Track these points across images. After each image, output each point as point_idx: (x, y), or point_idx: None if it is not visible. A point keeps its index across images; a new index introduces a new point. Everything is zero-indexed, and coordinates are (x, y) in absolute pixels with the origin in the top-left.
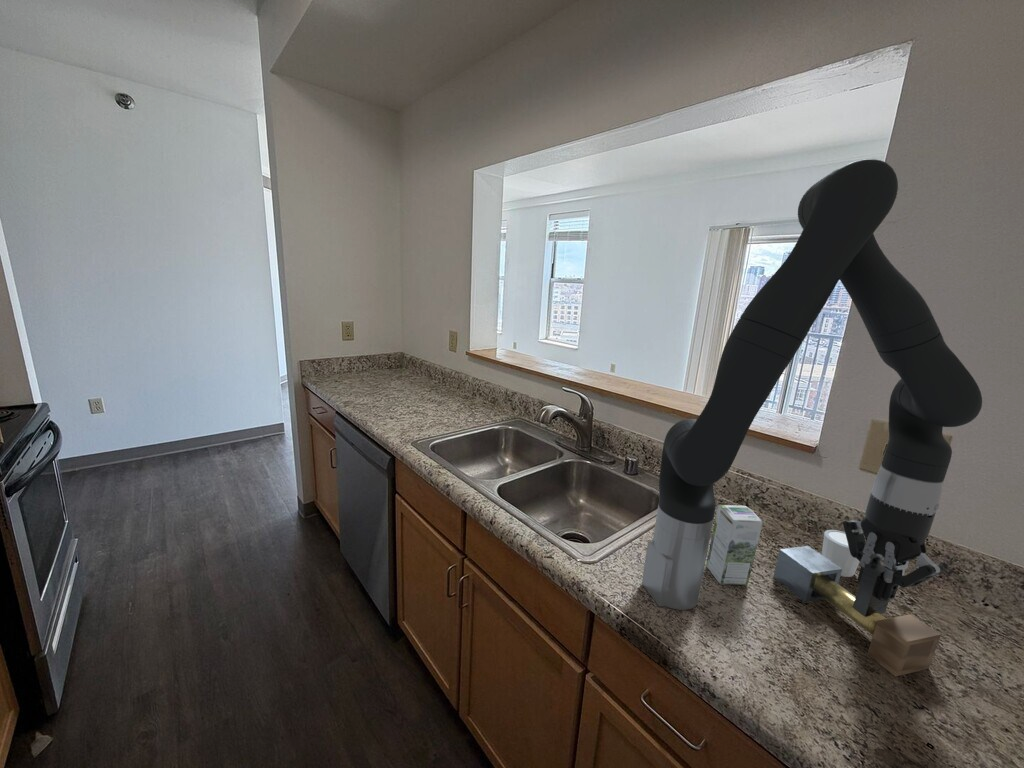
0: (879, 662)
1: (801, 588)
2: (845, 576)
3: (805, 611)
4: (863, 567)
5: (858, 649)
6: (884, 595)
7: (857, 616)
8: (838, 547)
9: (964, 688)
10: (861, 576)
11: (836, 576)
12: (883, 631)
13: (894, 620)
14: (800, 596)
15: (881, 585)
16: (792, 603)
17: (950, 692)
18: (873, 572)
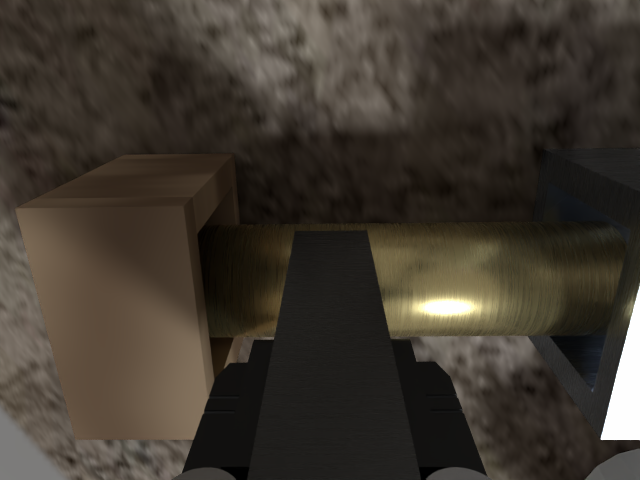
0: (184, 155)
1: (611, 160)
2: (588, 477)
3: (500, 95)
4: (450, 467)
5: (260, 137)
6: (239, 380)
7: (337, 229)
8: None
9: None
10: (434, 402)
11: (580, 377)
12: (152, 194)
13: (177, 310)
14: (580, 150)
15: (256, 419)
16: (564, 74)
17: None
18: (299, 457)
